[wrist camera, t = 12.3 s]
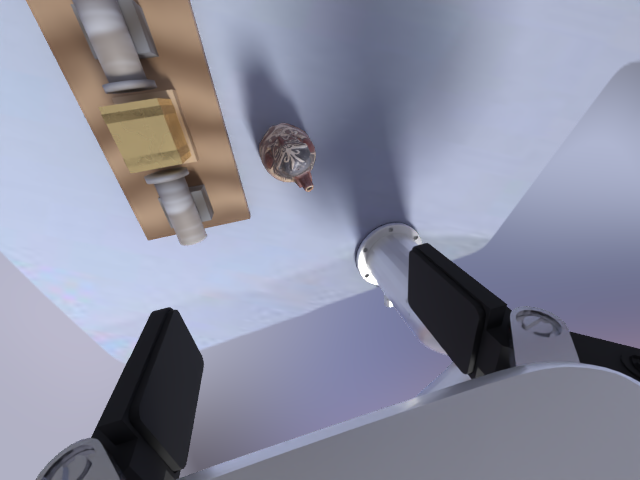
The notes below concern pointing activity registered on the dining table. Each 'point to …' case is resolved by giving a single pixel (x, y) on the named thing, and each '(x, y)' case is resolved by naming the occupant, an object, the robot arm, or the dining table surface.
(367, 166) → the dining table surface
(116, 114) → the block
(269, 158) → the figurine
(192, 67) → the shaft jig
